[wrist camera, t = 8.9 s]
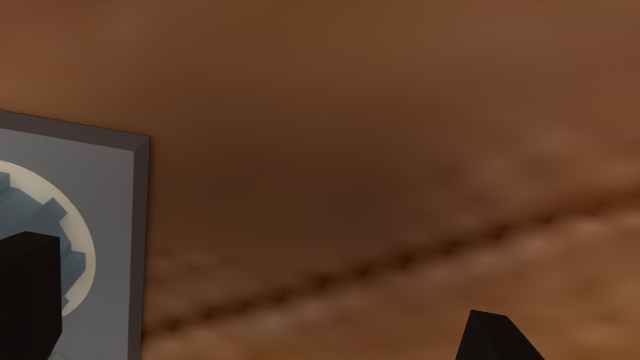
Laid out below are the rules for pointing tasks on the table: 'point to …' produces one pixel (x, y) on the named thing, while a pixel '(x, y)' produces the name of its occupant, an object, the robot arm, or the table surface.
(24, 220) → the slate gear
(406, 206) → the table surface
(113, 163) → the gear board
